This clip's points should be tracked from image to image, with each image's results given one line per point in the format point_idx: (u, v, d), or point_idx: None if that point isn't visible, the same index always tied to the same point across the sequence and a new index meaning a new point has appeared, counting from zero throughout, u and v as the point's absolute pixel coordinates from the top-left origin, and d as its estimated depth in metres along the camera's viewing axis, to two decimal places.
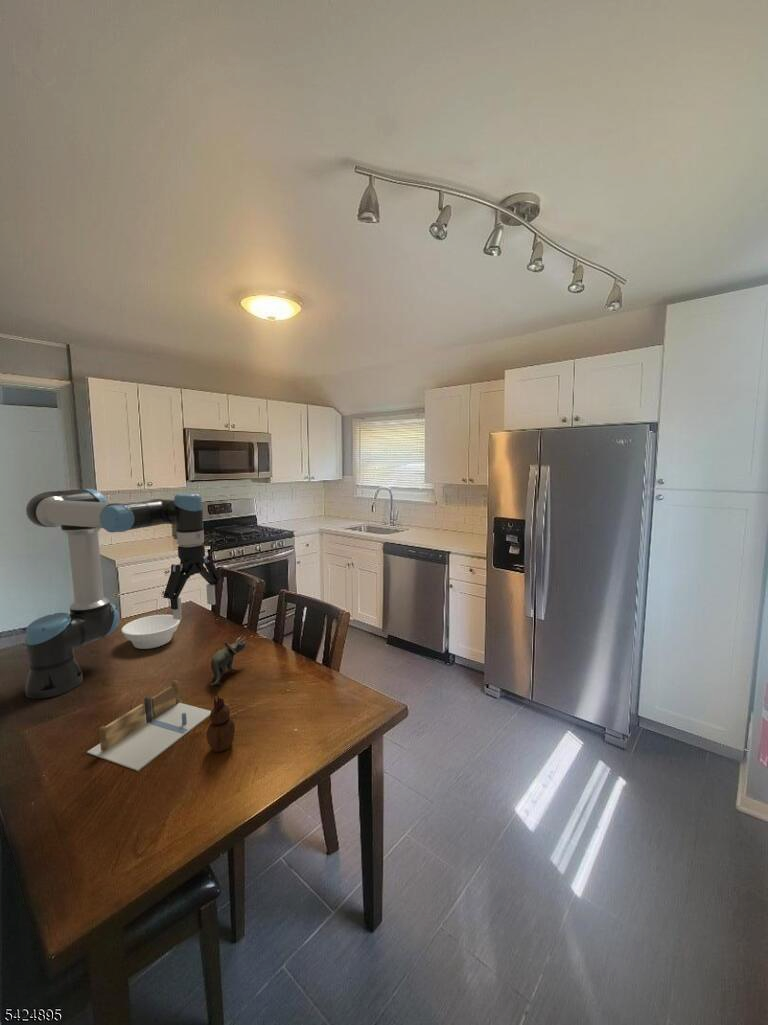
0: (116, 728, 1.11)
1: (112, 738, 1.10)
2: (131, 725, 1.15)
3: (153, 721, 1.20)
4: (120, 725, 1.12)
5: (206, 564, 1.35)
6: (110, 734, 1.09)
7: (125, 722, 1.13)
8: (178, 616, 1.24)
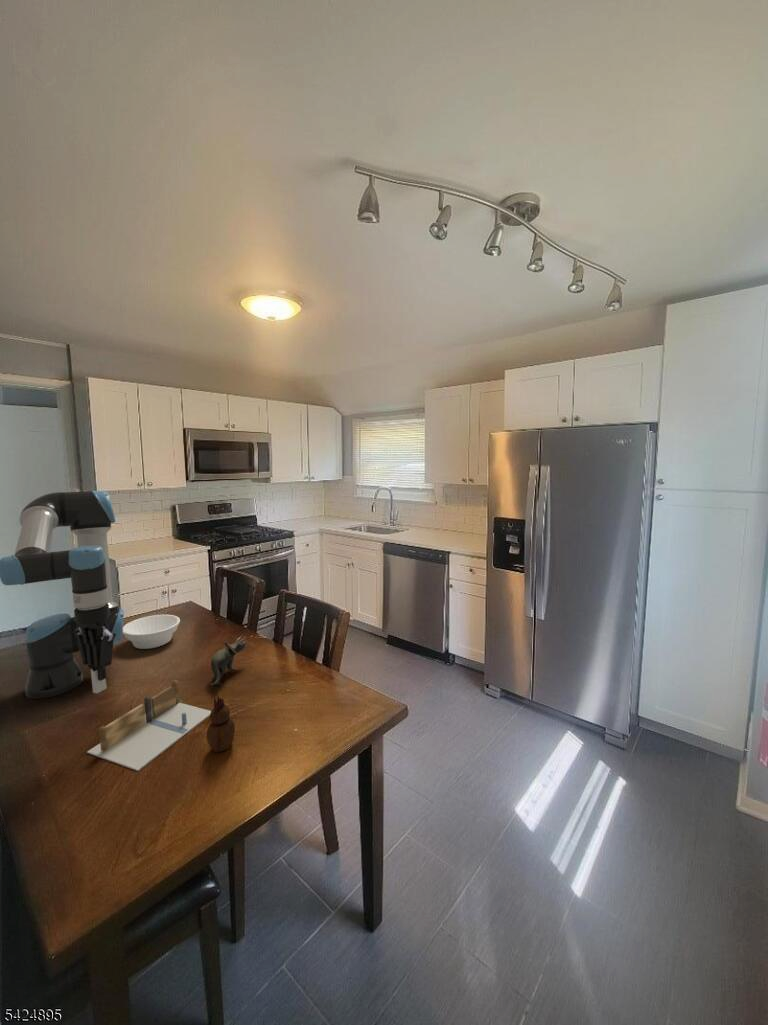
0: (116, 728, 1.11)
1: (112, 738, 1.10)
2: (131, 725, 1.15)
3: (153, 721, 1.20)
4: (120, 725, 1.12)
5: None
6: (110, 734, 1.09)
7: (125, 722, 1.13)
8: None
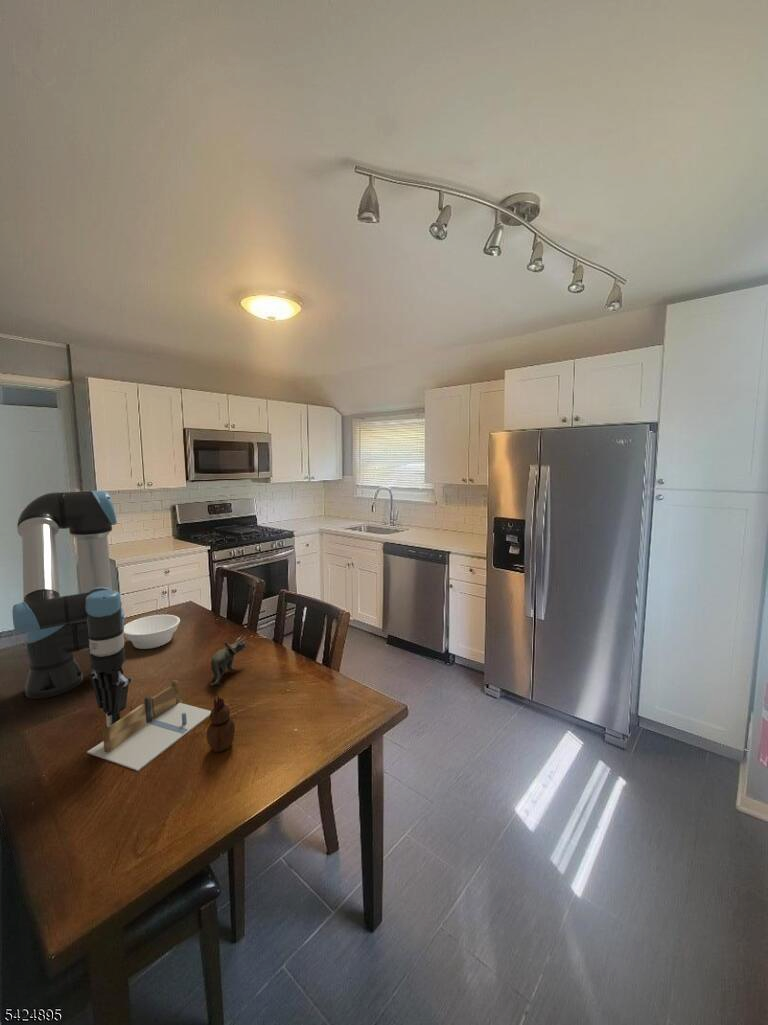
0: (119, 729, 1.10)
1: (115, 739, 1.09)
2: (133, 725, 1.15)
3: (153, 721, 1.20)
4: (122, 725, 1.12)
5: None
6: (113, 735, 1.09)
7: (127, 722, 1.13)
8: None
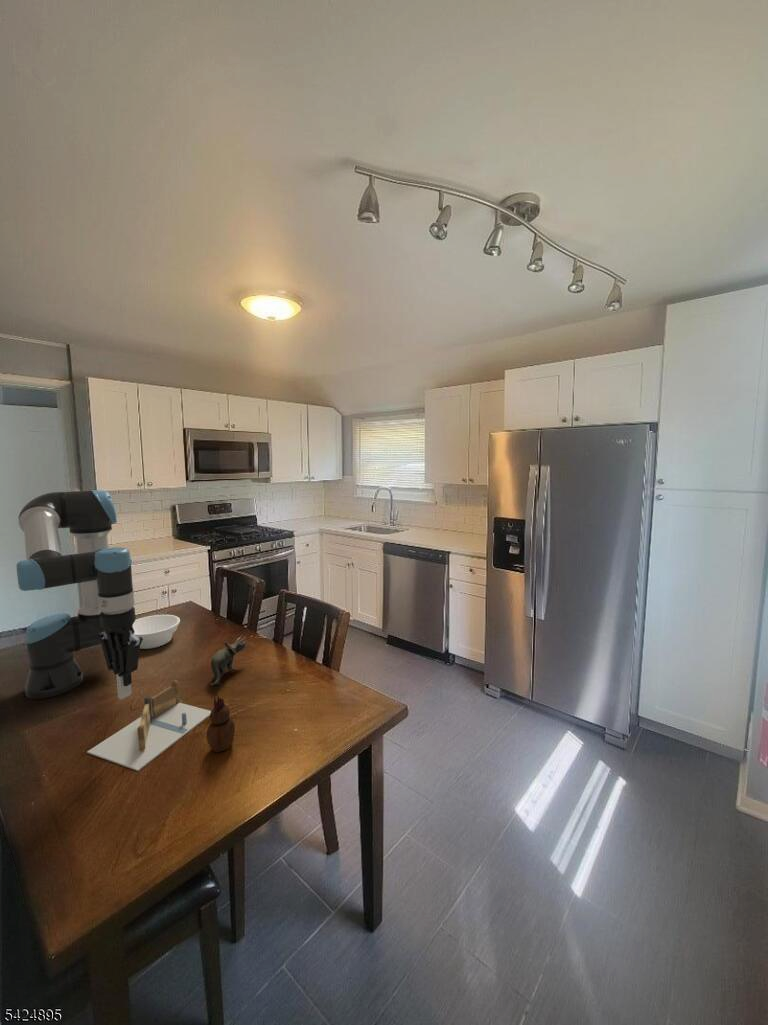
0: (145, 727, 1.11)
1: (145, 737, 1.10)
2: (147, 724, 1.15)
3: (153, 721, 1.20)
4: (145, 724, 1.12)
5: None
6: (144, 733, 1.10)
7: (146, 721, 1.14)
8: None
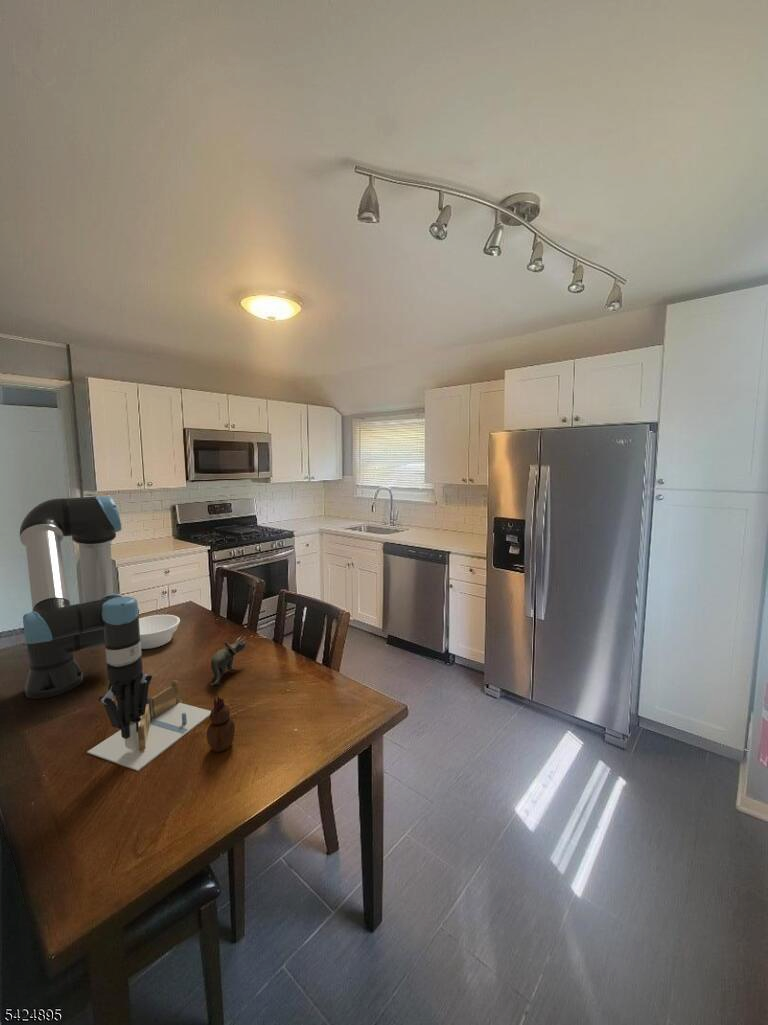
0: (145, 727, 1.11)
1: (145, 737, 1.10)
2: (147, 724, 1.15)
3: (153, 721, 1.20)
4: (145, 724, 1.12)
5: (140, 686, 1.10)
6: (144, 733, 1.10)
7: (146, 721, 1.14)
8: (130, 745, 1.07)
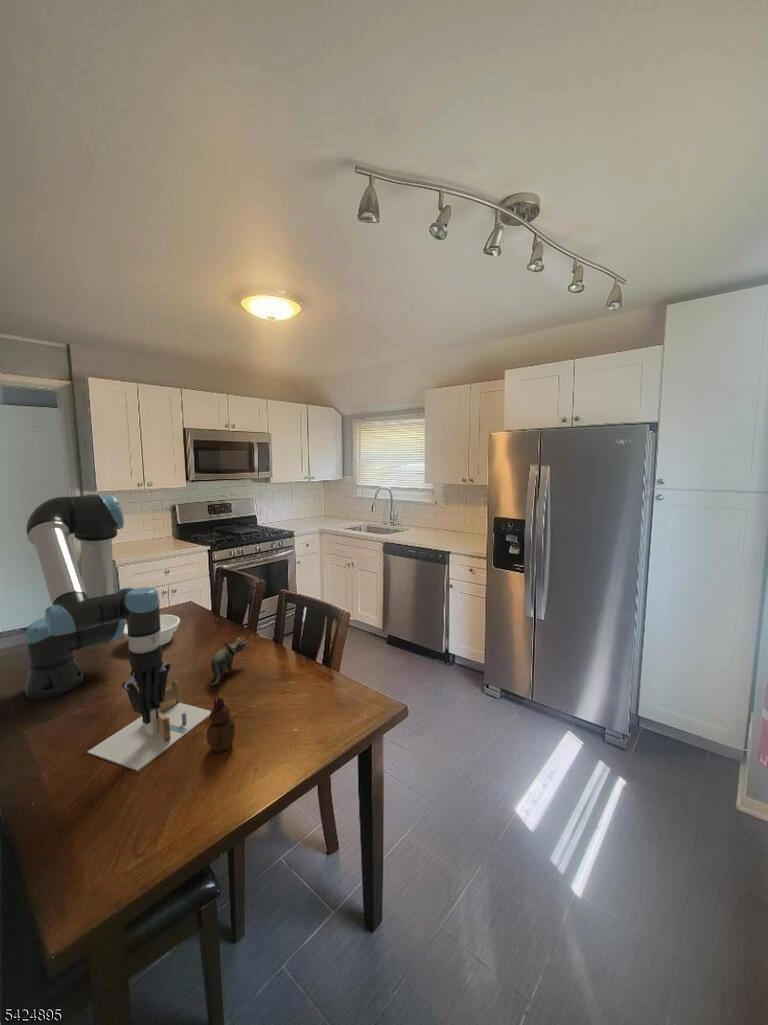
0: None
1: None
2: None
3: None
4: None
5: (159, 674, 1.15)
6: None
7: None
8: (151, 730, 1.11)
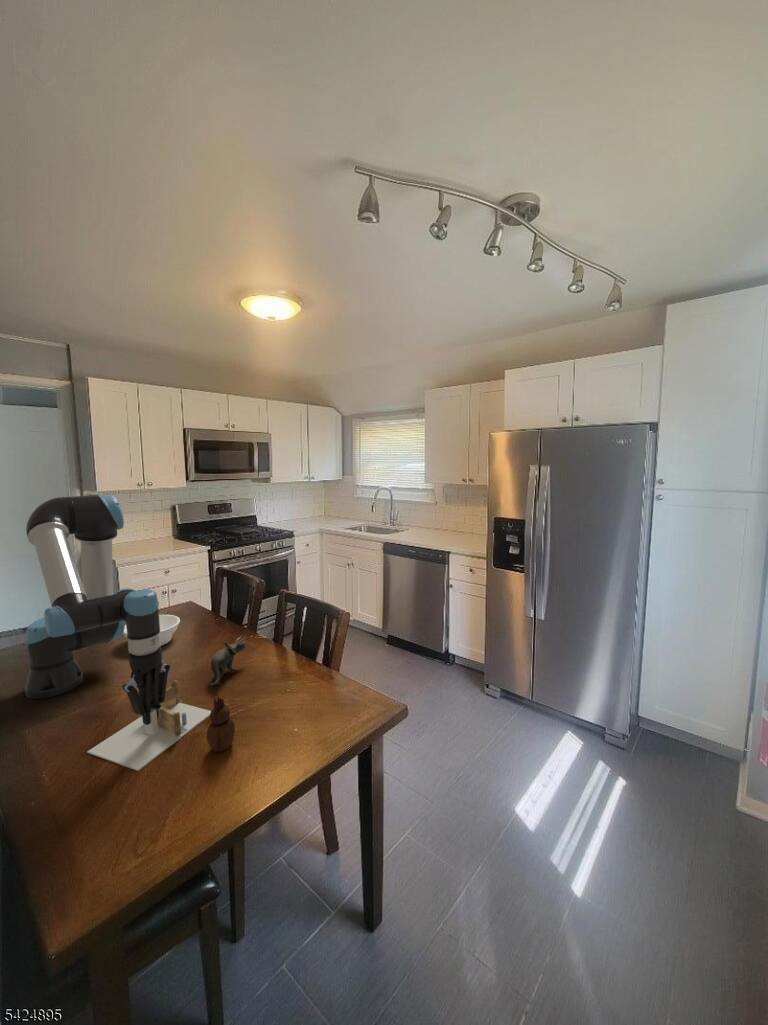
0: None
1: None
2: None
3: None
4: None
5: (159, 674, 1.15)
6: None
7: None
8: (151, 731, 1.12)
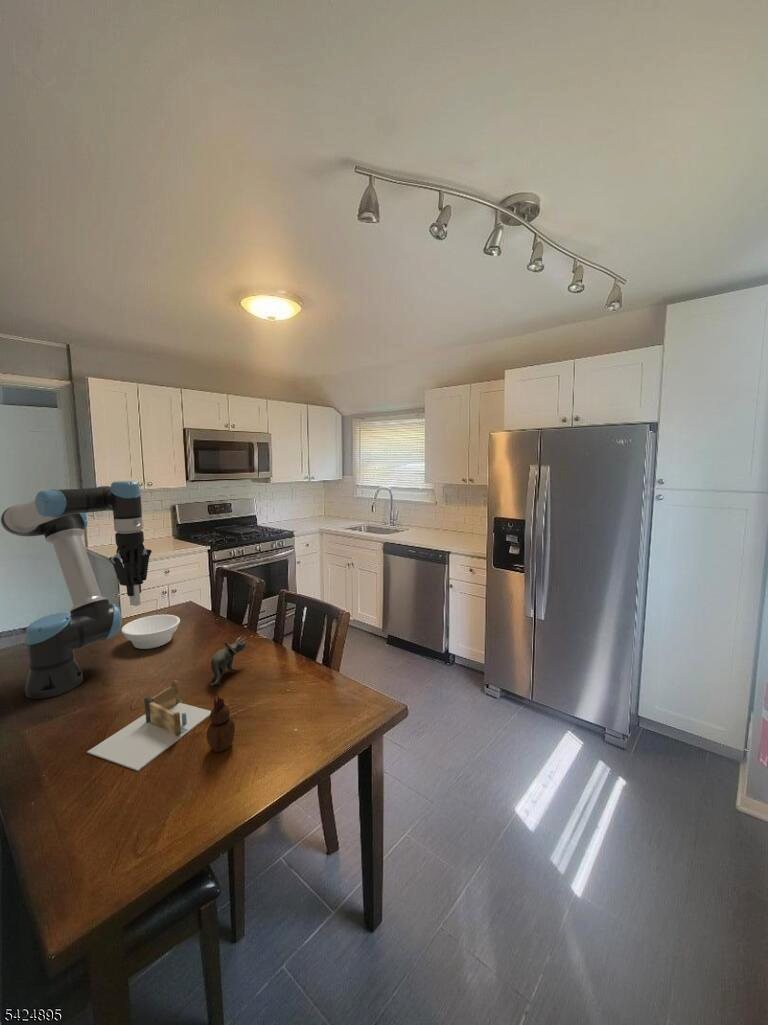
0: None
1: None
2: None
3: None
4: None
5: (142, 557, 1.35)
6: None
7: None
8: (134, 602, 1.32)
